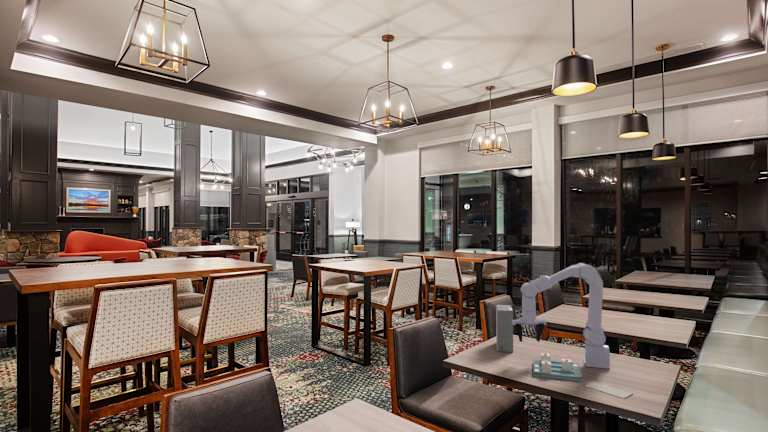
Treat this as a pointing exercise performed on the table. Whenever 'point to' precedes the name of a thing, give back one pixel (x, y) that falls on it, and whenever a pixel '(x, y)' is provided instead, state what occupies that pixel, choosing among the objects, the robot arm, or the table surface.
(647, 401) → the table surface
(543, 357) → the tab
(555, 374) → the switch board
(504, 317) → the hard drive box
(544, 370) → the tab
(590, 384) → the smartphone
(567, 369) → the tab
